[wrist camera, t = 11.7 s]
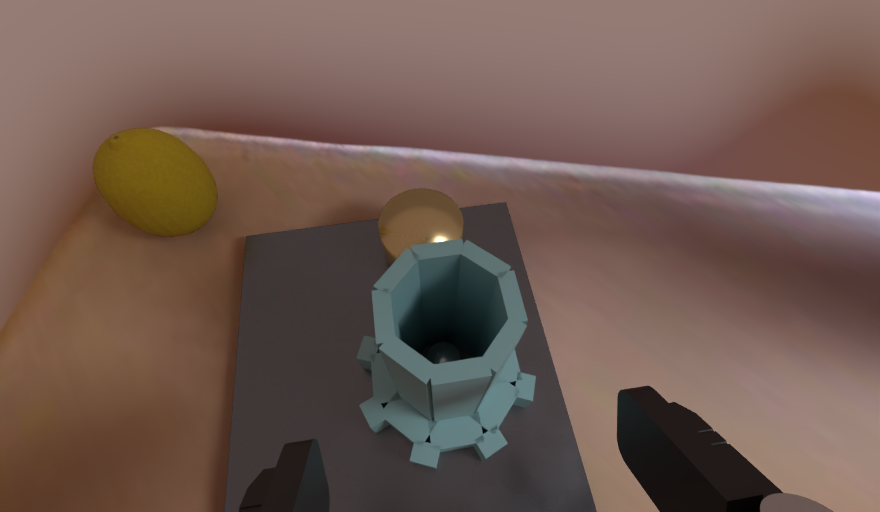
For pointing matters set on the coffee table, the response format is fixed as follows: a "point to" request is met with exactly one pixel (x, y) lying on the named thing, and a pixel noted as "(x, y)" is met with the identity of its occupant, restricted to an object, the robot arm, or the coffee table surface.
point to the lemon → (155, 182)
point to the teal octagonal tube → (446, 320)
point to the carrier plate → (349, 384)
